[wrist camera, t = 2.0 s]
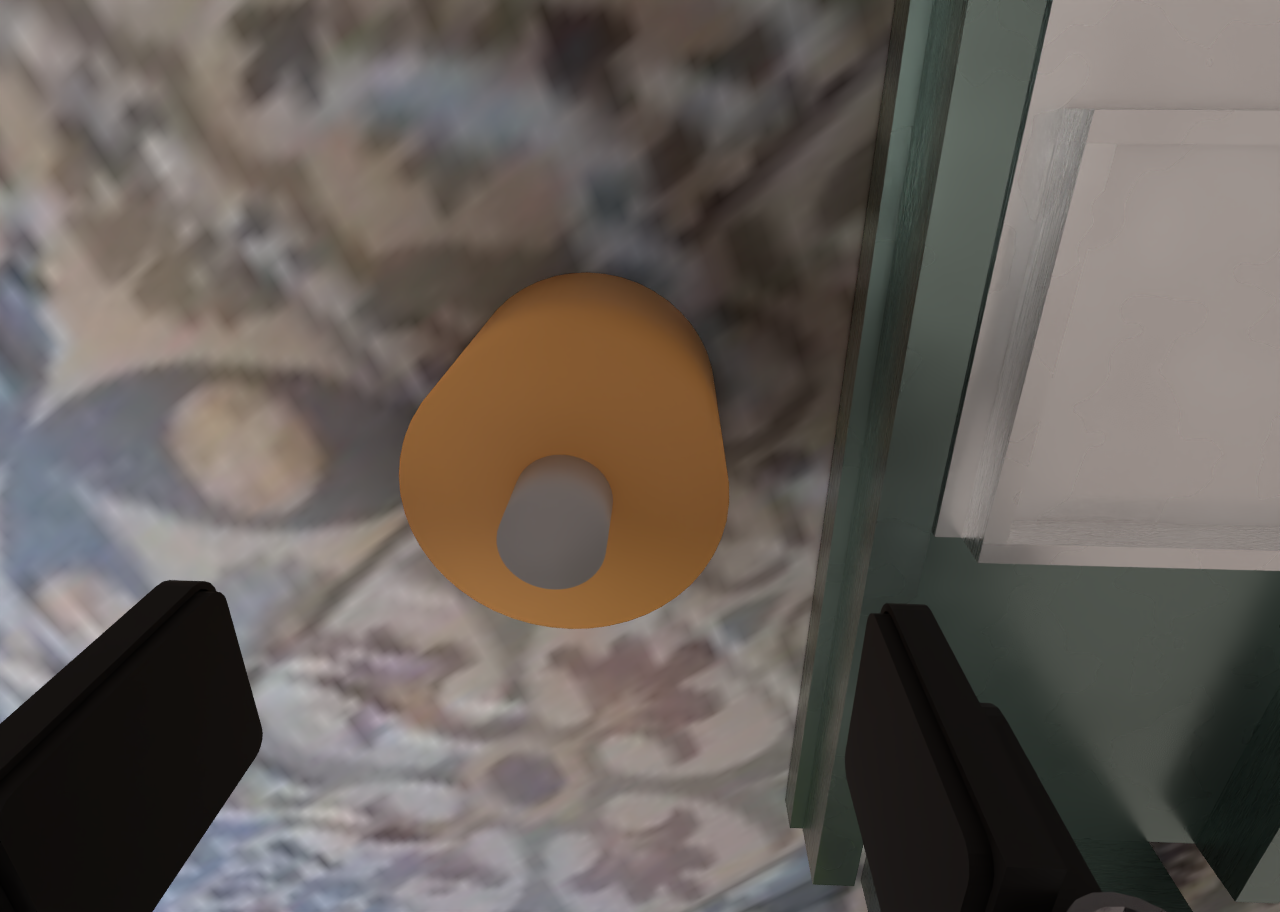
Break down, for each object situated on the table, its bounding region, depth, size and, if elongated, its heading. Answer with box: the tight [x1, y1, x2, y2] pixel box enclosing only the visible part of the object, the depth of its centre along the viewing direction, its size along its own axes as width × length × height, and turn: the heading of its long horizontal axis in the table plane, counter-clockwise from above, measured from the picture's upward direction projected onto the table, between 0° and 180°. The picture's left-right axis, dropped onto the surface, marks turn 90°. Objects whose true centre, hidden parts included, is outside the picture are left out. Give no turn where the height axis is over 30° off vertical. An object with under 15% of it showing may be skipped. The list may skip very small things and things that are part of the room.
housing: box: [399, 272, 729, 629], centre depth 15 cm, size 6×6×6 cm
